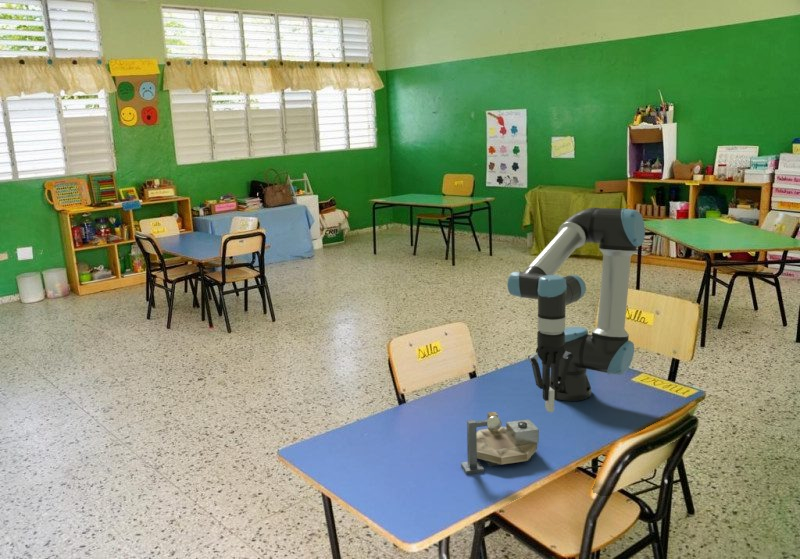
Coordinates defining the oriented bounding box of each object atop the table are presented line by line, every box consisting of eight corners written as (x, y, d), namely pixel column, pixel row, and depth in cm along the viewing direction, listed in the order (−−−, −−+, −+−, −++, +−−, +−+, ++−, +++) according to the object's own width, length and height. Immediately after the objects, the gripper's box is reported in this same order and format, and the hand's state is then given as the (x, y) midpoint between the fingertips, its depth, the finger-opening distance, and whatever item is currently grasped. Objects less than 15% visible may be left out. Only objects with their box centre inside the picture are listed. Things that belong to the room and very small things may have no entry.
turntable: (519, 430, 201) (519, 408, 200) (545, 458, 184) (545, 434, 183) (462, 438, 198) (462, 416, 196) (482, 467, 180) (482, 443, 179)
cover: (528, 432, 196) (529, 417, 195) (538, 442, 189) (538, 427, 188) (506, 434, 194) (506, 420, 193) (515, 445, 188) (515, 430, 187)
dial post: (496, 460, 187) (496, 410, 184) (503, 469, 183) (503, 418, 179) (460, 465, 185) (459, 415, 182) (466, 474, 180) (465, 422, 177)
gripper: (566, 325, 191) (564, 403, 196) (524, 329, 189) (523, 407, 194) (579, 332, 184) (576, 412, 189) (534, 336, 182) (533, 418, 186)
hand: (549, 410), depth 191 cm, fingers closed
